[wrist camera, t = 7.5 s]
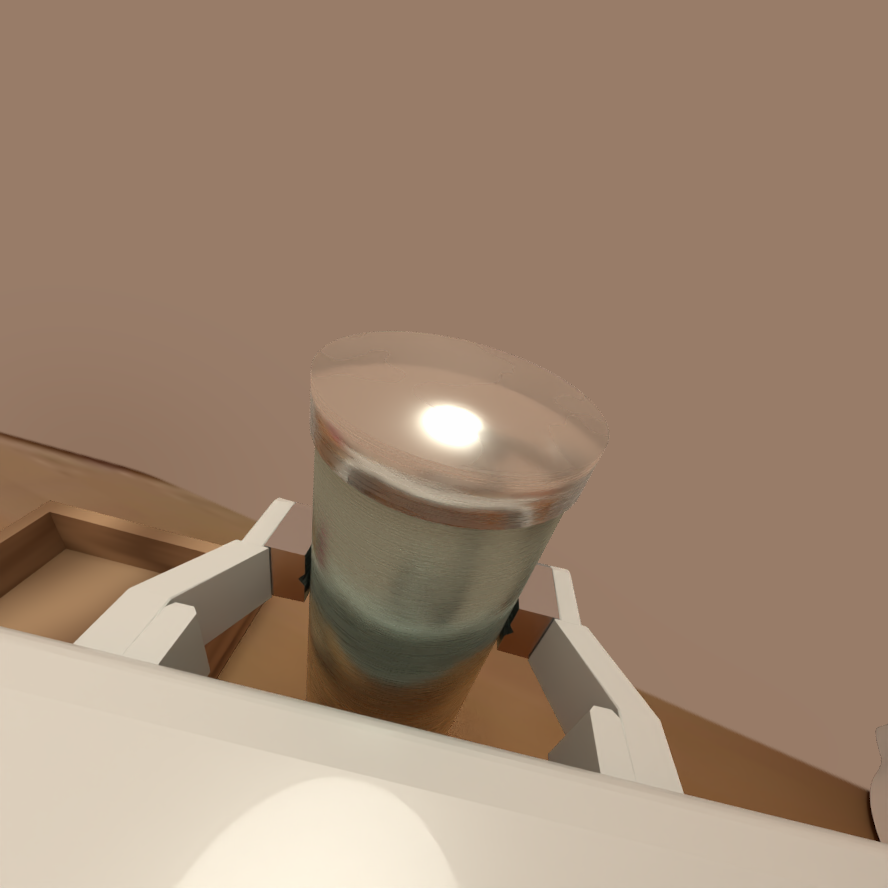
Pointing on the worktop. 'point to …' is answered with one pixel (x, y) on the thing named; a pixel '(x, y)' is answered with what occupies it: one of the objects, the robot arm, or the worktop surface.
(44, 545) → the crate
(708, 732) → the worktop surface
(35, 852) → the robot arm
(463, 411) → the spice tin
